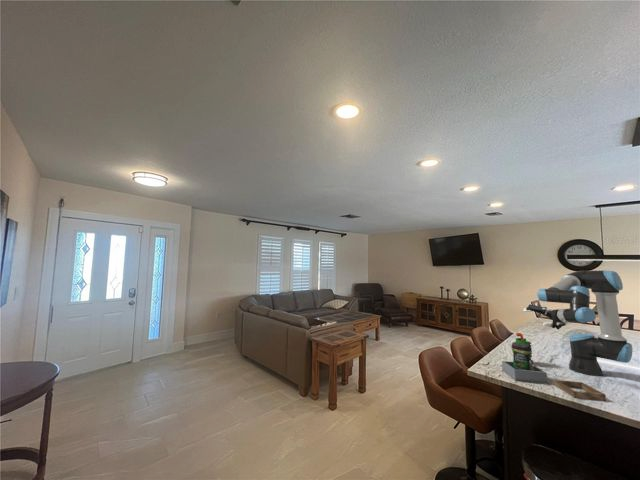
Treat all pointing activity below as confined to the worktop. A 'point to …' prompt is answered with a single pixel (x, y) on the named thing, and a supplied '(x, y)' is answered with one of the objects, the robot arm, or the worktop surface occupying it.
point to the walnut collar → (590, 393)
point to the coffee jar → (522, 356)
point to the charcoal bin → (525, 373)
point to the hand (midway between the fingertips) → (533, 317)
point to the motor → (523, 341)
